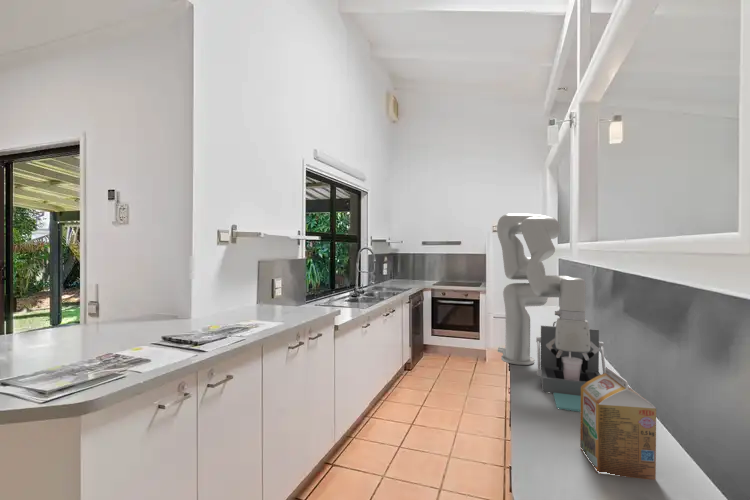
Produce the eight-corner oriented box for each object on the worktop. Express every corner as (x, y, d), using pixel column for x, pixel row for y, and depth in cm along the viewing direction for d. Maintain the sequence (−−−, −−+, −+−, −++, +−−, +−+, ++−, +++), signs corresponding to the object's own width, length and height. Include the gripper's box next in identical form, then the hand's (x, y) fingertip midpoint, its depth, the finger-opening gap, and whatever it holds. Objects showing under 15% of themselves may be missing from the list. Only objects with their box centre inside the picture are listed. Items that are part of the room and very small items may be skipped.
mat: (557, 408, 113) (557, 406, 113) (553, 394, 125) (553, 392, 125) (605, 415, 109) (605, 412, 109) (596, 399, 121) (596, 397, 121)
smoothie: (558, 384, 134) (558, 342, 134) (579, 386, 133) (579, 344, 133) (563, 391, 128) (563, 347, 128) (585, 392, 126) (585, 348, 126)
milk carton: (655, 479, 79) (656, 383, 79) (597, 474, 80) (598, 380, 80) (631, 453, 89) (631, 367, 89) (580, 448, 91) (581, 365, 91)
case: (538, 391, 127) (538, 333, 127) (536, 377, 142) (536, 325, 142) (612, 400, 120) (613, 339, 120) (602, 384, 135) (602, 329, 135)
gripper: (544, 315, 130) (543, 370, 130) (604, 319, 124) (604, 377, 124) (542, 312, 137) (542, 364, 137) (599, 315, 131) (599, 370, 131)
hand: (571, 369), depth 130 cm, fingers closed on smoothie, 6 cm apart
